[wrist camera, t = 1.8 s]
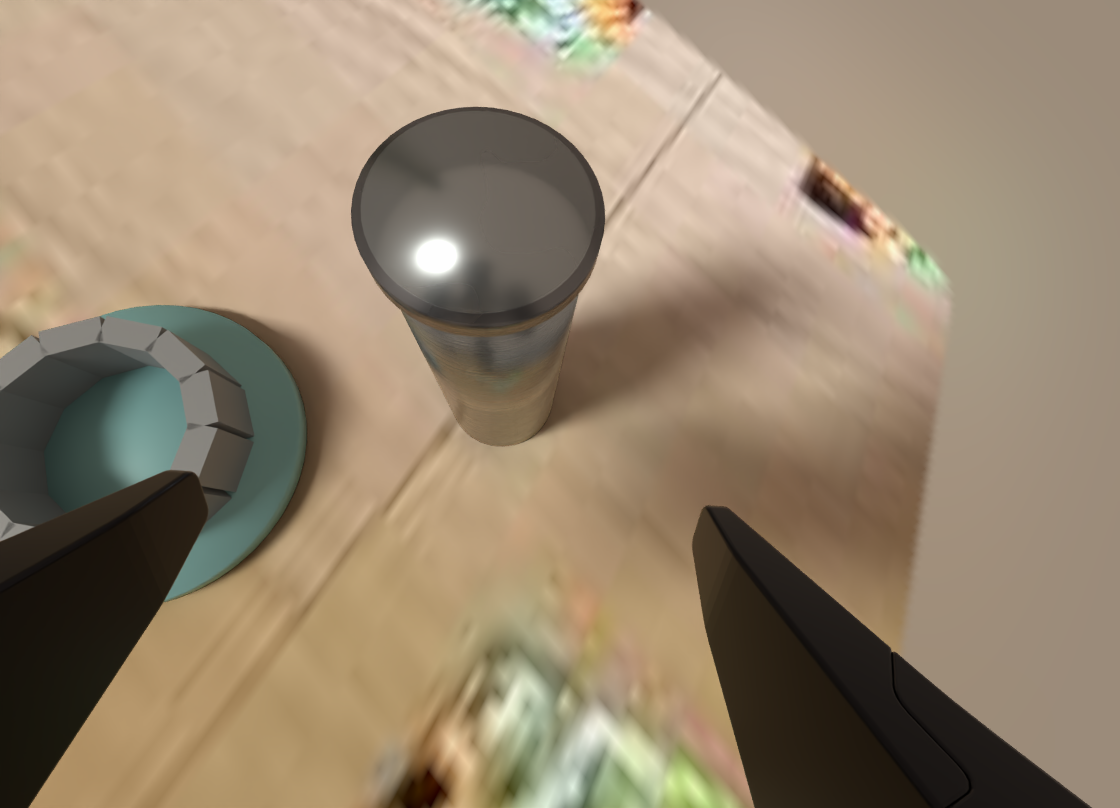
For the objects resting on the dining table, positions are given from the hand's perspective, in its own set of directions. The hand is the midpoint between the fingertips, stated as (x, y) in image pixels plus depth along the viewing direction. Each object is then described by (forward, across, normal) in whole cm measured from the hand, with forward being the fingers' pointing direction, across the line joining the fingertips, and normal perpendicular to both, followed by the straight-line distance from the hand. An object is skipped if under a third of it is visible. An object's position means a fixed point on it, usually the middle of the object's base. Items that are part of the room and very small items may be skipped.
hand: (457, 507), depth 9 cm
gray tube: (+12, 0, +5) cm, 13 cm away
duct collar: (+10, +14, +7) cm, 18 cm away
